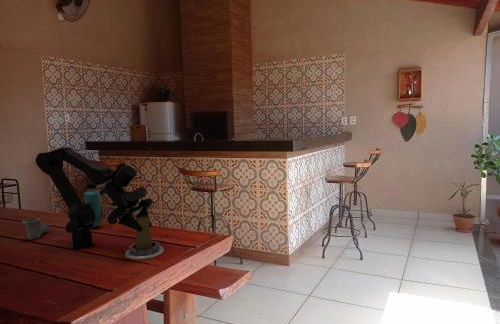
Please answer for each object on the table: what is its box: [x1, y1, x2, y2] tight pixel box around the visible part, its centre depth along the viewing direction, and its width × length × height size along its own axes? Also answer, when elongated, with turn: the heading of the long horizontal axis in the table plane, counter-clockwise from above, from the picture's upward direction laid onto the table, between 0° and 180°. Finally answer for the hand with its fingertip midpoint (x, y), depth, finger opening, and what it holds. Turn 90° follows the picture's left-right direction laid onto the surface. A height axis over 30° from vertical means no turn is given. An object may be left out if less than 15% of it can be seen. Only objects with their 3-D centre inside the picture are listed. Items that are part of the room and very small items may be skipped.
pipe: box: [22, 217, 51, 241], centre depth 155 cm, size 6×13×8 cm, turn 175°
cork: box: [135, 217, 153, 249], centre depth 131 cm, size 6×6×11 cm
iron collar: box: [124, 240, 165, 261], centre depth 132 cm, size 13×13×3 cm
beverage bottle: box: [83, 182, 103, 227], centre depth 165 cm, size 6×7×20 cm
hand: (146, 228), depth 131 cm, fingers closed on cork, 5 cm apart
